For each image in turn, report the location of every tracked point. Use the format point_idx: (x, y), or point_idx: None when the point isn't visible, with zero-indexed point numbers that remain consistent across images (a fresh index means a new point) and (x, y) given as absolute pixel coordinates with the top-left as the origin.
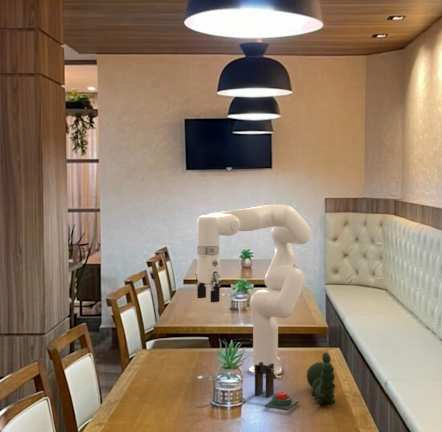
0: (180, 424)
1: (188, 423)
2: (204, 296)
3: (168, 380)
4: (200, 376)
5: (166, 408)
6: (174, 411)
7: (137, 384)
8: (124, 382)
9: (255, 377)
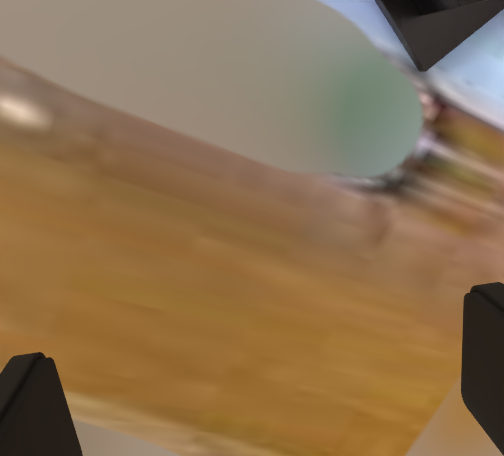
0: None
1: None
2: (51, 386)
3: (32, 250)
4: (12, 107)
5: (340, 331)
6: (378, 317)
7: None
8: None
9: (465, 3)
